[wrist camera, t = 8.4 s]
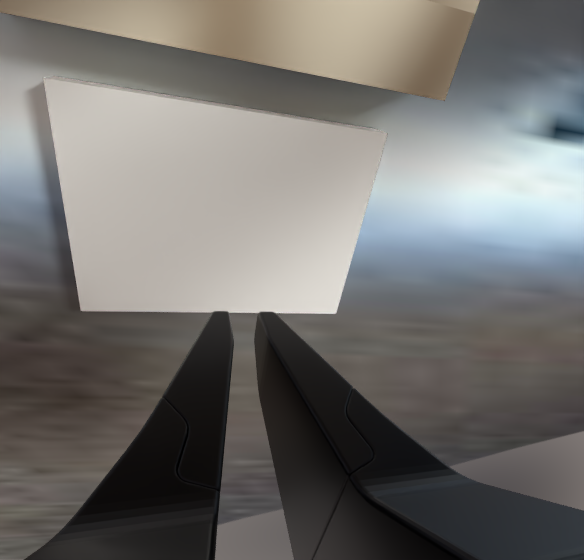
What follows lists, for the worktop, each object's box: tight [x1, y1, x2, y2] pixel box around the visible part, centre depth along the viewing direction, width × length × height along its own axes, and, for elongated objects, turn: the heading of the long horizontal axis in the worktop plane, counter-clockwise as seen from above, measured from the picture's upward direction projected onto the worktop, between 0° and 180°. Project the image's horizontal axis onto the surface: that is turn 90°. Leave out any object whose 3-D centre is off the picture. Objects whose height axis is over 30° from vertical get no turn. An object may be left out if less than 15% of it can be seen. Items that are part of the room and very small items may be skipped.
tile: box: [43, 76, 388, 314], centre depth 15 cm, size 12×9×1 cm
